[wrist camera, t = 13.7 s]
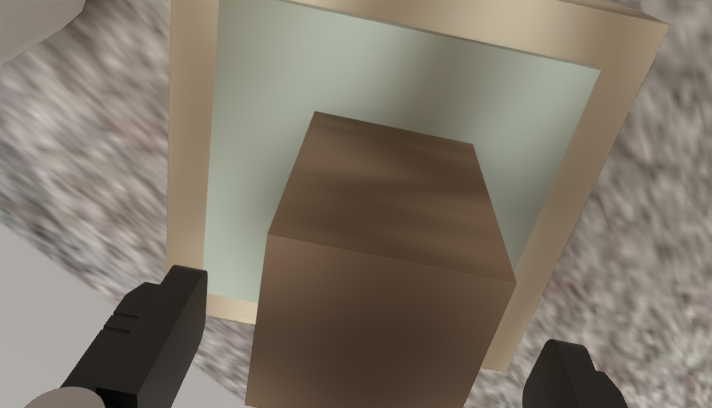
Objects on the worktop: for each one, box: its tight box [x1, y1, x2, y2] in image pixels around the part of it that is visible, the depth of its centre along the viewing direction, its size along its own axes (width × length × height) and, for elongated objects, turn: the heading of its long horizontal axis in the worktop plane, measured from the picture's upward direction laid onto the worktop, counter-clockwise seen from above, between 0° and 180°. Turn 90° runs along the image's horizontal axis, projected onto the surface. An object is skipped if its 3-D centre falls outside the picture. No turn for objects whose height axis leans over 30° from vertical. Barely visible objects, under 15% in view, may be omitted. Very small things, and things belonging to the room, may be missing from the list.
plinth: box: [166, 0, 670, 372], centre depth 20 cm, size 14×14×4 cm
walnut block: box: [245, 111, 517, 408], centre depth 15 cm, size 5×5×7 cm
